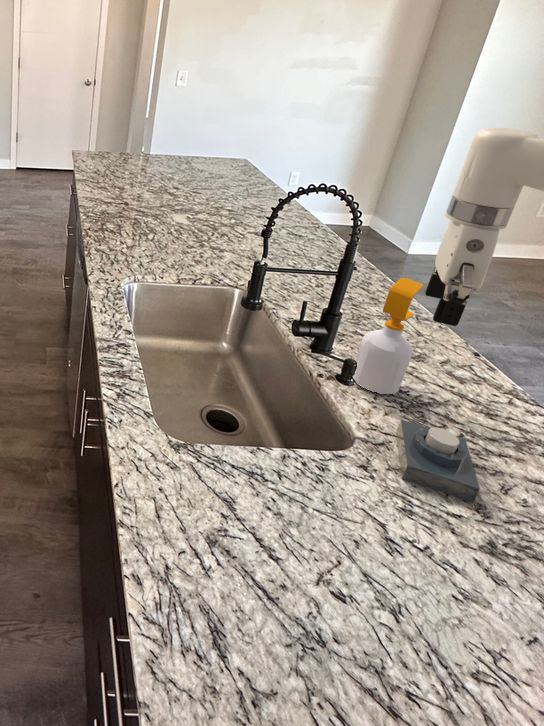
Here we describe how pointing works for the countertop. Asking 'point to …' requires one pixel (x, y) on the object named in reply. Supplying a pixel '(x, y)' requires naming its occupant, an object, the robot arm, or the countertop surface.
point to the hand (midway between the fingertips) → (439, 309)
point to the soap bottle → (388, 343)
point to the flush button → (442, 440)
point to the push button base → (435, 463)
